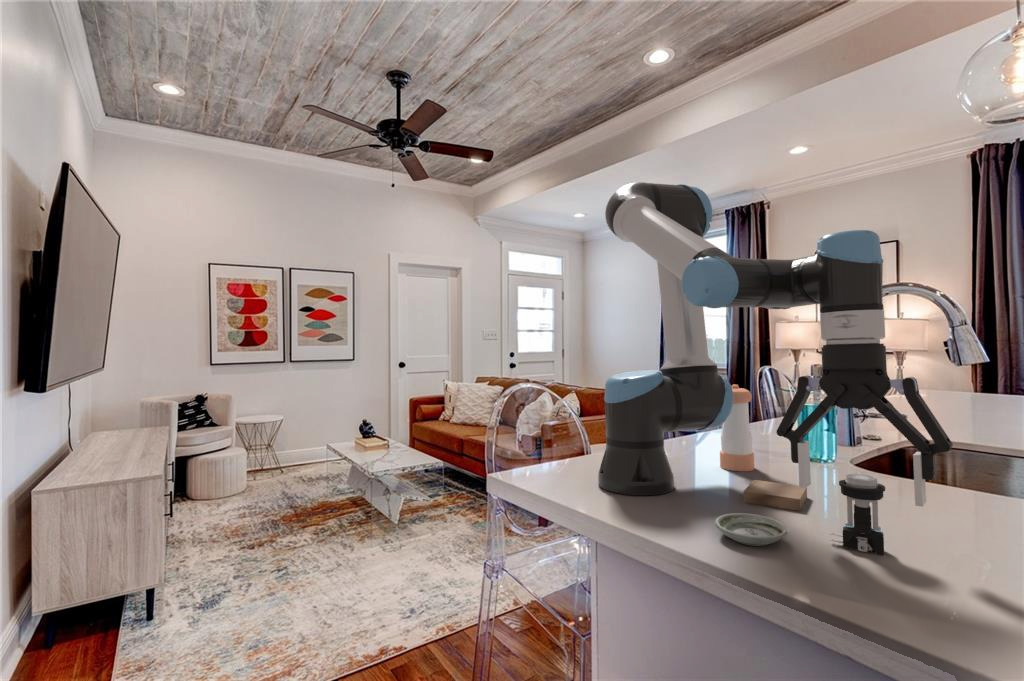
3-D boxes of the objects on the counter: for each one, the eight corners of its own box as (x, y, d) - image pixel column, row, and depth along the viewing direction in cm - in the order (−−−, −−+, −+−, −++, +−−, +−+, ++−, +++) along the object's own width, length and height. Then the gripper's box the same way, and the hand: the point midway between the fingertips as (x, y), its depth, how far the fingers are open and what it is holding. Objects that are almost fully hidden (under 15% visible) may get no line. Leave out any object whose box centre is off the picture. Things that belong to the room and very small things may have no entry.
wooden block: (743, 502, 92) (743, 491, 92) (754, 489, 99) (754, 479, 99) (800, 510, 87) (799, 499, 87) (807, 497, 94) (806, 486, 94)
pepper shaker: (744, 463, 121) (742, 383, 121) (760, 470, 114) (758, 385, 114) (714, 464, 121) (712, 383, 121) (729, 472, 113) (727, 386, 113)
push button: (828, 549, 71) (826, 477, 71) (830, 537, 75) (829, 469, 75) (887, 560, 67) (885, 484, 67) (886, 546, 72) (884, 475, 72)
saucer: (702, 531, 79) (702, 515, 79) (756, 525, 81) (756, 510, 81) (743, 557, 70) (743, 539, 70) (803, 549, 72) (803, 532, 72)
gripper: (750, 345, 78) (755, 484, 77) (968, 339, 60) (977, 520, 59) (769, 344, 83) (774, 475, 83) (974, 339, 65) (982, 505, 64)
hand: (858, 494), depth 71 cm, fingers open, 13 cm apart
